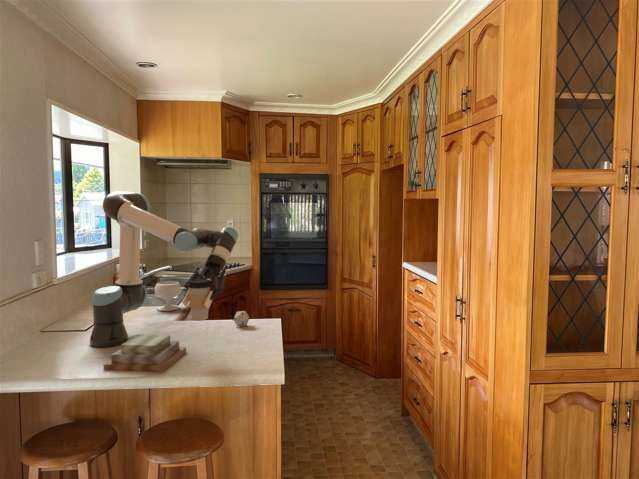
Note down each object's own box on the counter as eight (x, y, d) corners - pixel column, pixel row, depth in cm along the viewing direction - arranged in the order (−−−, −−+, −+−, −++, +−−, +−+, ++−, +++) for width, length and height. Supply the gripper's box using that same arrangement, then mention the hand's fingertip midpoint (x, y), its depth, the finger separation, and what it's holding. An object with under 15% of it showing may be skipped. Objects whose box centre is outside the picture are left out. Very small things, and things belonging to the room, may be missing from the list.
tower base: (103, 369, 168) (102, 348, 167) (134, 350, 190) (133, 331, 189) (161, 372, 166) (161, 350, 165) (186, 352, 187) (185, 332, 187)
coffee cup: (190, 315, 186) (189, 278, 184) (214, 315, 187) (213, 278, 185) (185, 322, 177) (184, 283, 175) (210, 321, 177) (210, 282, 176)
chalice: (150, 309, 260) (149, 282, 259) (172, 305, 271) (171, 279, 270) (164, 313, 251) (163, 285, 250) (186, 308, 262) (185, 282, 261)
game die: (244, 335, 224) (245, 322, 217) (228, 328, 225) (229, 314, 218) (252, 322, 230) (254, 309, 224) (237, 315, 232) (238, 302, 225)
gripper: (244, 266, 190) (223, 313, 177) (198, 263, 198) (175, 308, 185) (237, 255, 185) (215, 302, 172) (191, 252, 193) (166, 297, 179)
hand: (195, 305), depth 178 cm, fingers closed on coffee cup, 9 cm apart
